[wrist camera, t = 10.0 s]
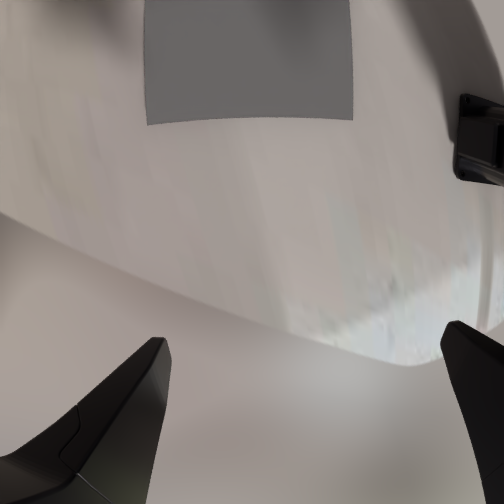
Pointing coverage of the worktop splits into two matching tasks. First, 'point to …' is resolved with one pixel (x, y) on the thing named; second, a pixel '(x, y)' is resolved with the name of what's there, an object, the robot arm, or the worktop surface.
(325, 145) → the worktop surface
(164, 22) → the mat
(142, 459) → the robot arm
